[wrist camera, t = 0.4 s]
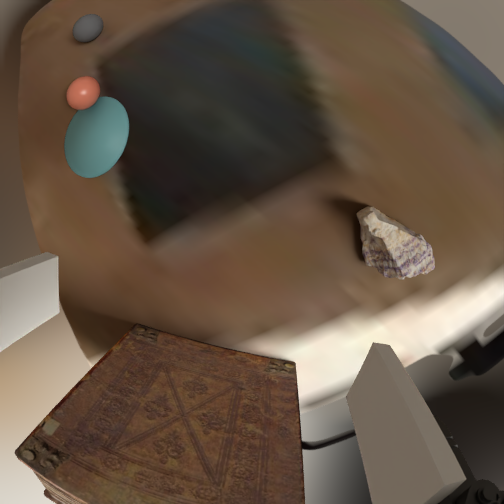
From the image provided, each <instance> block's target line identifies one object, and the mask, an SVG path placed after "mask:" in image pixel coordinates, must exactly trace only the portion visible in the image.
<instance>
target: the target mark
mask: <svg viewBox="0 0 504 504" xmlns="http://www.w3.org/2000/svg"><path fill="white" fill-rule="evenodd" d="M128 134H129V120H128V115H127V112H126V110H125V108H124V107H123V105H122V104H121V103H120V102H119V101H117V100H115V99H113V98H110V97H98V99H97V101H96V102H95V104H94V105H92V106H91V107H90V108H88V109H85V110H78V111H77V113H76V114H75V115H74V117H73V118H72V120H71V122H70V124H69V126H68V129H67V132H66V136H65V144H64V148H65V156H66V160H67V162H68V164H69V166H70V168H71V169H72V170H73V171H74V172H75V173H76V174H77V175H79V176H82V177H86V178H92V177H97V176H100V175H102V174H104V173H105V172H107V171H108V170H109V169H111V168H112V167H113V166H114V165H115V163H116V162H117V161H118V159H119V158H120V156H121V155H122V153H123V151H124V148H125V146H126V143H127V139H128Z"/></svg>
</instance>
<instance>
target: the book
mask: <svg viewBox="0 0 504 504" xmlns="http://www.w3.org/2000/svg"><path fill="white" fill-rule="evenodd" d="M15 454H16V456H17V458H18V459H19V460H20V461H22V462H23V463H24V464H25V465H27V466H28V467H29V468H31V469H32V470H33V471H34V473H35V474H36V475H37V477H38V478H39V480H40V481H41V482H42V484H43V485H44V486H45V488H46V489H45V490H44V495H45V496H46V497H47V498H49V499H50V500H51V501H53V502H55V503H56V504H305V493H304V473H303V455H302V440H301V425H300V411H299V398H298V386H297V375H296V364H295V362H291V361H285V360H279V359H274V358H269V357H264V356H259V355H254V354H249V353H245V352H240V351H236V350H231V349H227V348H223V347H219V346H215V345H211V344H207V343H203V342H199V341H195V340H192V339H188V338H184V337H181V336H177V335H174V334H170V333H167V332H163V331H160V330H157V329H154V328H150V327H147V326H144V325H141V324H135V325H134V326H133V327H132V328H131V329H130V330H129V331H128V332H127V333H126V334H125V335H124V336H123V337H122V338H121V339H120V340H119V341H118V342H117V343H116V344H115V345H114V346H113V347H112V348H111V349H110V350H109V351H108V352H107V353H106V354H105V355H104V356H103V357H102V358H101V359H100V360H99V361H98V362H97V363H96V364H95V365H94V366H93V367H92V368H91V369H90V370H89V371H88V373H87V374H86V375H85V376H84V377H83V378H82V379H81V380H80V381H79V382H78V383H77V384H76V385H75V386H74V387H73V388H72V389H71V390H70V391H69V392H68V393H67V394H66V396H65V397H64V398H63V399H62V400H61V401H60V402H59V403H58V404H57V405H56V406H55V407H54V408H53V409H52V411H51V412H50V413H49V414H48V415H47V416H46V417H45V418H44V419H43V420H42V421H41V423H40V424H39V425H38V426H37V427H36V428H35V429H34V430H33V431H32V432H31V434H30V435H29V436H28V437H27V438H26V439H25V440H24V441H23V443H22V444H21V445H20V446H19V447H18V448H17V449H16V450H15Z"/></svg>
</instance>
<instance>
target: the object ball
mask: <svg viewBox="0 0 504 504" xmlns="http://www.w3.org/2000/svg"><path fill="white" fill-rule="evenodd" d="M99 95H100V86H99V83H98V82H97V80H96V79H94V78H92V77H89V76H83V77H80V78H78V79H76V80H75V81H73V82H72V83H71V85H70V86H69V88H68V90H67V101H68V104H69V105H70V106H71V107H72V108H74V109H76V110H85V109H88V108H90V107H91V106H92V105H94V104H95V102H96V101H97V99H98V97H99Z"/></svg>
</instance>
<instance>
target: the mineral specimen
mask: <svg viewBox="0 0 504 504" xmlns="http://www.w3.org/2000/svg"><path fill="white" fill-rule="evenodd" d="M357 217H358V219H359V223H360V226H361V228H360V230H361V240H362V242H363V249H362V250H363V256H364V258H365V263H366V265H368V266H372V267H375V268H377V269H378V271H379V272H380V273H381V274H383V276H385V277H389V278H393V277H397V278H399V279H404V278H405V277H410V278H411V277H414V276H416V275H418V274H420V273H423V274H427V273H429V272H430V271H431V270H433V269H434V268H435V265H434V263H435V262H434V256H433V253H432V248H431V245H430V244H428V243H427V242H426V241H425V240H424V238H423V236H422V235H420V234H416V233H415V232H414V231H412V230H410V229H408V228H407V227H405V226H404V225H402V224H400V223H398V222H397V221H395V220H394V219H392V218H389V217H387V216H386V215H384V214H383V213H381V212H380V211H379V210H377V209H375V208H373V207H369V206H368V207H366V208H364V209H362V210H360V211H359V212H358V213H357Z"/></svg>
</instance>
